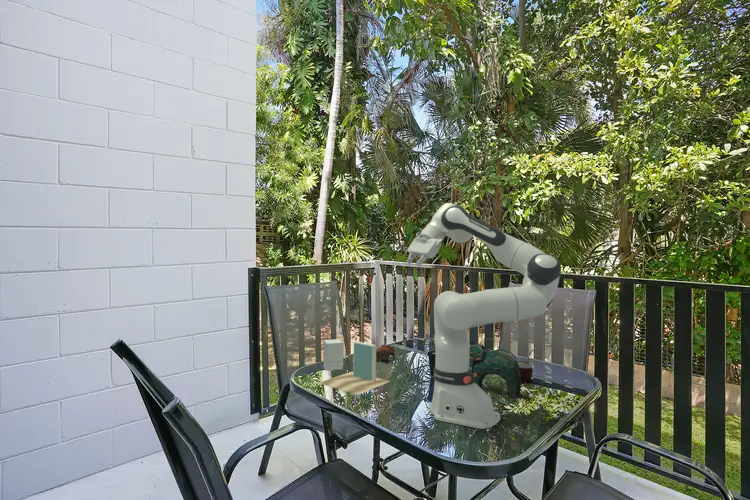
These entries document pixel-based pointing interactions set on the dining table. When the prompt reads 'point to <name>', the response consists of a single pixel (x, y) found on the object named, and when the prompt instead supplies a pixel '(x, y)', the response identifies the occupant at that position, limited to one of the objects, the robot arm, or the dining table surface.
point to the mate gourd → (526, 370)
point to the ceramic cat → (495, 366)
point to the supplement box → (333, 354)
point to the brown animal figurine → (386, 354)
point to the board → (353, 383)
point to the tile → (364, 361)
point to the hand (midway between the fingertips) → (412, 264)
